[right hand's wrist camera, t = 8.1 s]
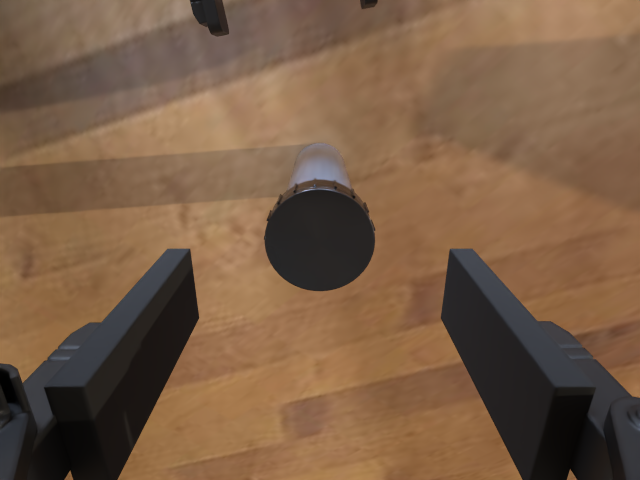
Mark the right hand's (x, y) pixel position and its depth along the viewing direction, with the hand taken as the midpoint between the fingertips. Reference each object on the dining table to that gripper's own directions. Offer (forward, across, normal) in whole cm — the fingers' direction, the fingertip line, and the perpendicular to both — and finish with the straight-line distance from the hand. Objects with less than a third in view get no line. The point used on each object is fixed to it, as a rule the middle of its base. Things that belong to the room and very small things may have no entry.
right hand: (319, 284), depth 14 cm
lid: (+4, 0, 0) cm, 4 cm away
